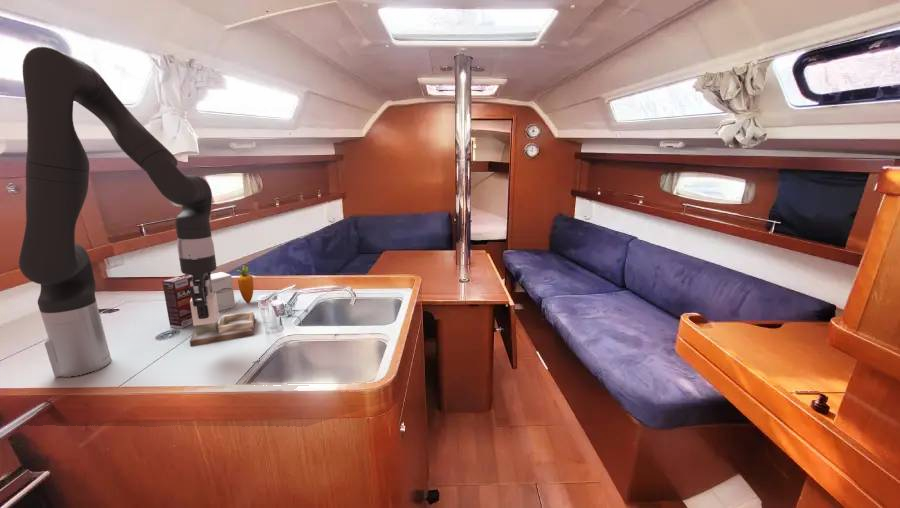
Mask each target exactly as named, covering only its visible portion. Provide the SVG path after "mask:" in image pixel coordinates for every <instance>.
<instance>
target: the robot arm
mask: <svg viewBox="0 0 900 508" xmlns="http://www.w3.org/2000/svg"><path fill="white" fill-rule="evenodd" d="M22 78H23V79H22V80H23V87H24V95H25V104H26V114H27V116H26V117H27V118H26V119H27V122H26V124H27V128H26V130H27V132H26V133H27V146H26V147H27V148H26V157H25V219H26V220H25V221H26V222H25V227H24V228H25V229H24V234H23V239H22V244H21V249H20V255H19V258H18V259H19V260H18V267H19V269H20V272H21V273H22V275H23V276H24V277H25V278H26V279H28V280H29V281H30V282H33V283H35V284H39V285H40V293H39V296H38V298H37V305H38V309H39V312H40V315H41V318H42V322H43V325H44V328H45V331H46V334H47V338H48V339H47V340H46V341H45V342H44V347H45V349H46V354H47V356H48V360H49V363H50V366H51V370H52V373H53V375H54V378H59V377H60V376H61V377H63V378H72V377H71V376H75V377H79V376H78V375H80V376H83V375H82V374H84V375H87V374H86V373H88V374H90V373H89V372H91V373H93V371H94V372H97V371H98V370H101V369H102V368H104V367H106V366H107V365H109V364H110V363H111V361H112V358H111V357H112V356H111V353H110V349H109V345H108V342H107V336H106V334H105V330H104V326H103V323H102V318H101V315H100V311H99V307H98V303H97V299H96V298H97V297H96V280H95V275H94V271H93V266H92V262H91V258H90V255H89V254H88V252H87V250H86V249H85V247H83V246H82V245H80V243H77V242H76V241H75V235H76V234H75V233H76V232H75V231H76V224H77V223H78V218H79V216H80V214H81V211H82V209H83V206H84V204H85V201H86V198H87V195H88V191H89V190H88V189H89V183H90V181H89V180H90V161H89V157H88V155H87V152H86V150H85V148H84V146H83V144H82V142H81V140H80V138H79V136H78V133H77V131H76V129H75V126H74V125H75V124H74V119H73V118H74V117H73V116H74V115H73V114H74V102H76V103H77V104H79V105H81V106H82V107H83V108H85V109H86V110H88V111H89V112H90V113H91V114H93V115H94V116H95V117H97V118H98V120H100V121H101V122H102V123H103V125H104V126H105V127H106V128H107V129H108V131H109V133H110V135H111V136H112V137H113V139H114V140H115V143H116V144H117V146H119V148H120V149H121V150H122V152H124V153H125V155H126V156H128V157H129V158H130V159H131V160H132V161H133V162H135V164H136V165H137V166H138V167H140V168H141V169H142V170H143V171H145V173H146V174H147V175H148V177H149V178H150V180H151V181H152V183H153V184H154V186H155V187H156V189H158V191H159V193H160V194H161V195H162V196H163V197H164V198H166V199H167V200H168V201H169V202H172V203H174V204H175V205H178V206H179V205H180V206H182V207H181V212H180V213H179V214H178V215H176V216H175V219H174V225H175V231H176V238H177V254H178V259H179V268H180V272H181V273H182V275H185V274H187V275H188V274H189V275H192V280H190V288H189V289H190V292H191V296H192V301H193V305H194V307H195V306H197V312H198V318H199V319H205V318H208V317H209V313H208V306H207V304H208V302H207V296H208V295H209V293H211V292H212V285H211V274H212V273H213V272H215V271H216V270H217V260H216V253H215V252H216V251H215V244H214V240H213V237H212V230H211V224H210V223H211V222H210V216H211V210H212V201H213V200H212V198H213V195H212V189H211V186H210V185H209V183H208V181H206V179H205V178H203V177H201V176H199V175H194V174H193V175H192V174H189V175H187V174H186V175H185V174H184V173H182V172H181V170H180V169H178V167H177V166H178V159H177V157H175V155H174V154H173V153H172V152H171V151H170V150H169V149H168V148H167V147H166V146H165V145H163V143H161V142H160V140H158V139H157V138H156V137H155V136H154V135H153V134H152V133H151V132H150V131H149V130H148V129H147V128H146V127H144V125H142V124H141V122H140V121H139V120H138V119H137V118H136V117H135V116H134V115H133V114H132V112H130V110H129V109H128V108H127V107H126V106H125V104H124V103H123V102H122V101H121V100H120V98H118V96H117V95H116V94H115V92H114V91H113V90H112V88H111V87H110V86H109V84H108V83H107V82H106V81H105V80H104V78H103V77H102V75H100V74H99V73H98V71H97V70H96V69H95V68H94V67H92V66H91V65H89V64H88V63H86V62H84V61H82V60H80V59H78V58H76V57H74V56H71V55H69V54H67V53H64V52H63V51H60V50H58V49H55V48H51V47H48V46H37V47H33V48H31V49H30V50H29V51H28V52H26V55H24V58H23V61H22ZM198 299H202V301H198ZM61 377H60V378H61Z"/></svg>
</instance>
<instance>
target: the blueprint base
mask: <svg viewBox="0 0 900 508" xmlns="http://www.w3.org/2000/svg"><path fill="white" fill-rule="evenodd" d="M255 320H256V317H255V314H254V311H253V310H251V311H246V312H238V313H232V314H224V315H221V318H220V319H217V322H216V323H210V324H203V325H196V326H194V330H193V332H192V335H191V337H190V340H189V345H190V347H192V346H193V347H194V346H197V345H205V344H210V343H216V342H221V341H227V339H228V340H233V339H238V338H244V337H249V336H253V335H254V334H255V331H254V330H255V322H254V321H255Z"/></svg>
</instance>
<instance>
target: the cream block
mask: <svg viewBox="0 0 900 508" xmlns="http://www.w3.org/2000/svg"><path fill="white" fill-rule="evenodd" d="M198 301H202V299H198ZM207 302H208V304H207V306H208V313H209V317H208V318H205V319H199V318H198V312H197V306H195V307H194V305H193V301H192V298H191V300H190V306H191V312H192V319H193V323H192V324H193V327H195V326H196V325H203V324H210V323H216V322H217V320H219V317H220V314H219V313H220V311H218V305H217V297H216V292H214V293H209V295H208V296H207Z"/></svg>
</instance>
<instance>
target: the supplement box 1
mask: <svg viewBox="0 0 900 508" xmlns="http://www.w3.org/2000/svg"><path fill="white" fill-rule="evenodd" d="M190 280H192V275H189V274H188V275H187V274H182V275H179V276H176V277H172V278H169V279H165V280H162V282H161V283H162V288H163V293H164V300H165V305H166V311H167V316H168V322H169V326H170V328H174V329H175V328H176V329H183V328H185V327H187V326H189V325H192V324H193V319H192V312H191V306H190V300H191V298H192V296H191V292H190V289H189V288H190Z"/></svg>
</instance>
